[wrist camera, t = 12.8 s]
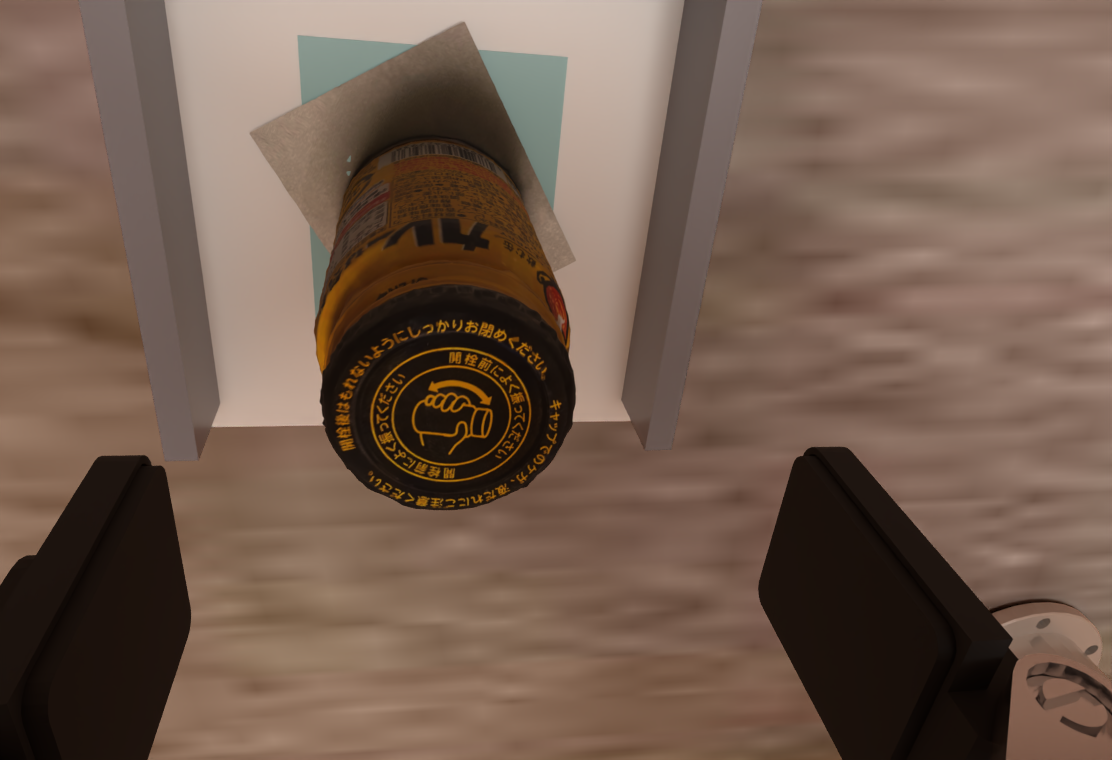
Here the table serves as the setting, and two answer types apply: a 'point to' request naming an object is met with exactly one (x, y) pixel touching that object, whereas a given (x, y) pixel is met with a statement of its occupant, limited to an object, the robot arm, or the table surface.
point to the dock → (275, 219)
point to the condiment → (431, 279)
